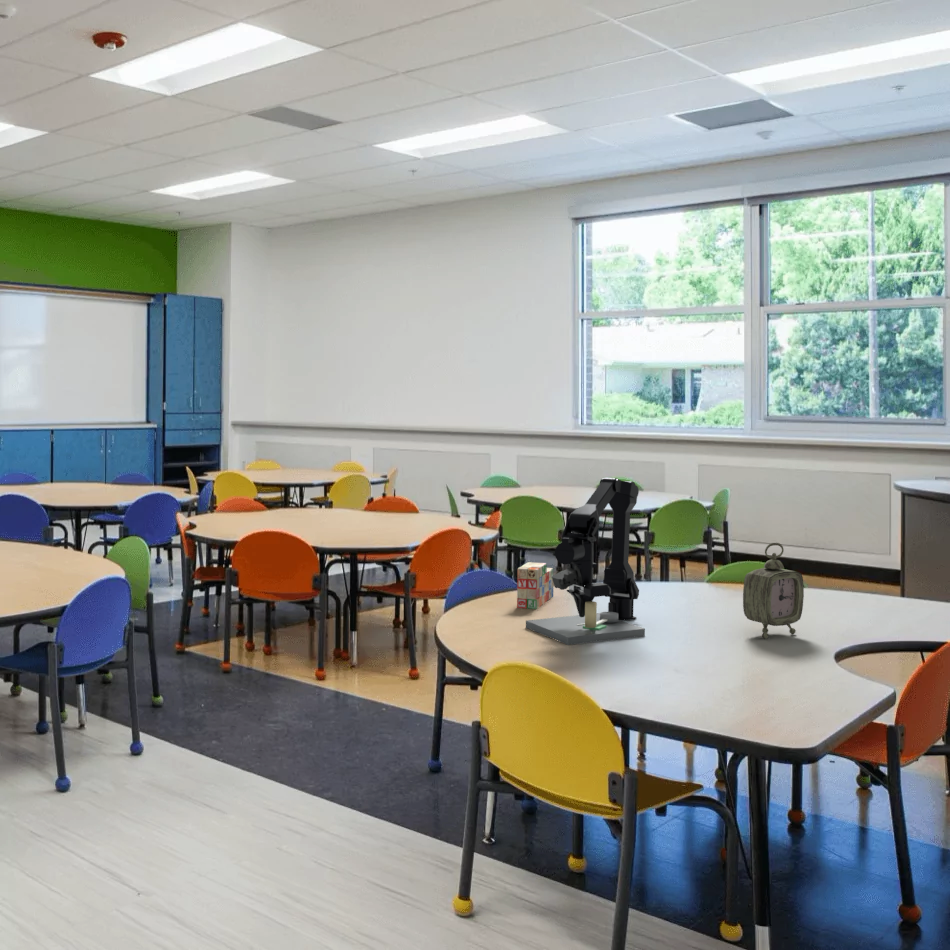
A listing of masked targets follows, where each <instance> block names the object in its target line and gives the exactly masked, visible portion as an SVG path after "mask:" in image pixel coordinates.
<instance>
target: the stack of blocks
mask: <svg viewBox="0 0 950 950" xmlns="http://www.w3.org/2000/svg"><path fill="white" fill-rule="evenodd" d="M547 564H548V563H547V562H533V561H532V562H530V561H528V562H526V563H523V565H521V566H519V567H518V568H517V580H516V581H517V583H516V586H517V587H516V588H517V591H516V593H517V596H516V608H518V609H531V610H532V609H534V610H537V609H538V607H539V608H540V607H541V605H542V606H543V605H545V603H546V602H548V601H549V600H551V599H552V598H553V597H554V587H555V586H554V583H553V580H552V576H553V575H554V568H553V567H548V566H547ZM547 600H548V601H547Z"/></svg>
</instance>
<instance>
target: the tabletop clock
mask: <svg viewBox="0 0 950 950" xmlns="http://www.w3.org/2000/svg"><path fill="white" fill-rule="evenodd" d="M772 546H778V547H780V548H781V552H780V553H779V554H777V553H776V552H773V553H772V555H769V554H768V552H767V551H768V550H769V548H771V547H772ZM783 554H784V545H782V544H781V543H779V542H771V543H769V544H768V545H767V546H766V547H765V549H764V555H765V556H766V558H768V559H769V560H767V561H766V562H765V563H764V565H763V567H761V568H757V569H754V570H751V571H750V572H747V573H746V574H745V576H744V579H743V591H742V593H743V594H742V606H743V607H742V608H743V613H744V616H745V617H746V619H747V620H750V621H751V622H757V623H761V624H762V627H763V628H762V629H761V632H762V633H761V638H762V639H766V640H767V639H768V637H769V634H768V632H769V628H768V627H769V626H772V627H773V626H774V627H778V626H782V627H783V626H787V628H788V629H789V634H790V635H794V634H796V633H797V632H796V631H797V630H796V628H795V627H792V626H791V624H795V623H797V622H798V621H799V620H801V617H802V614H803V609H804V608H803V607H804V597H805V596H804V595H805V594H804V593H805V592H804V590H805V589H804V588H805V587H804V579H803V577H804V576H803V573H801V572H799V571H795V570H790V569H785V567H784V564H783V562H782V561H781V560H779V558H780V557H781V556H782V555H783Z"/></svg>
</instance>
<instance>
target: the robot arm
mask: <svg viewBox="0 0 950 950" xmlns="http://www.w3.org/2000/svg"><path fill="white" fill-rule="evenodd" d="M638 496H639V486H638V485H636V482H634V481H627V480H621V479H618V478H617V477H603V478H601V479H600V481H599V485H598V486H597V487H596V489H595V490H594V491H593V493H592V494H591V496H590V497H589V499H588V500H587V501H586V503H585V504H584V505H581V506H579V507H577V508H575V509H574V510H573V511H572V512H571V513H570V515H569V516H568V518H567V520H566V524H565V527H564V530H563V532H562V534H561V542H560V543H559V544H558V545H557V546H556V547H555V550H554V556H555V559H556V561H557V562H559V563H560V564H562V565H567V568H566V569H563V570H561V571H558V572H557V573H555V574H553V576H552V580H553V583H554V586H553V587H554V589H559V590H566V592H567V593H568V594H570V595H571V596H572V597H573V600H574V603H575V606H576V609H577V613H578V615H579V616H580V617H584V616H585V602H587V601H594V598H597V597H606V598H609V602H608V604H607V612H616V613H618V620H621V621H631V620H637V617H636V616H634V604H635V603H634V600H638V598H639V595H640V589H639V587H638V584H637V583H636V581H635V577H634V576H635V575H634V570H633V569H632V567H631V565H630V563H629V558H630V557H629V554H630V529H631V525H630V524H631V512H632V510H633V509H634V508H635V507H636V504H637V501H638ZM607 506H610V507H609V508H611V510H612V512H613V513H612V537H611V557H610V559H611V560H610V564H609V565H608V566H607V567H605V568H604V570H603V581H602V582H597V578H594V568H597V563H596V562H594V546H595V545H594V543H595V542H596V541H597V537H596V536H595V535H596V533H597V531H598V529H599V527H600V525H601V524H600V523H601V522H600V516H601V515H602V513H603V512H604V510H605V509H606V507H607Z"/></svg>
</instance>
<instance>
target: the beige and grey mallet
mask: <svg viewBox="0 0 950 950" xmlns="http://www.w3.org/2000/svg"><path fill="white" fill-rule="evenodd" d="M597 603H598V602H596V601H594V600H592V601H587V602H585V627H587V628H595V627H596V626H597V625H599V624H601V623H604V622H606V623H615V622H618V613H616V612H608V611H601V612H599V613H600V621H597V622H596V613H597V605H598V604H597Z"/></svg>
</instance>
